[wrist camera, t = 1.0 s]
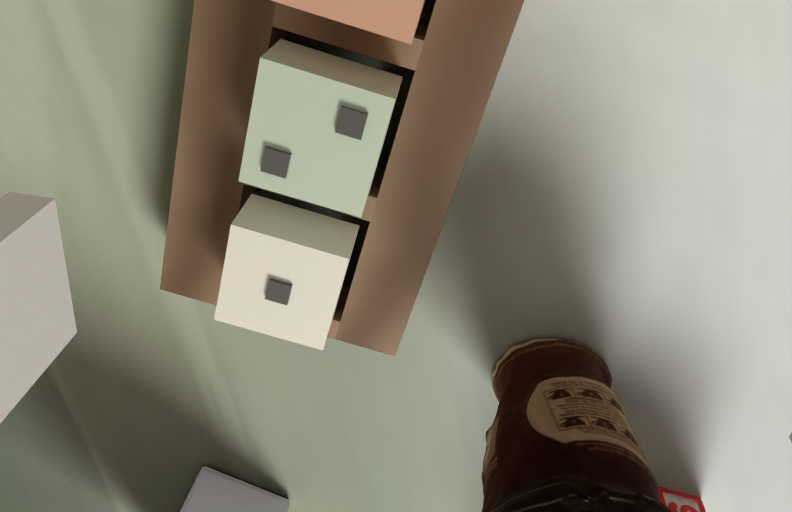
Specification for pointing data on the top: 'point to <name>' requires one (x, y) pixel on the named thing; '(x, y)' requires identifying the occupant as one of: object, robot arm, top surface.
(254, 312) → the tile one
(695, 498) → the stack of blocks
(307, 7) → the tile three
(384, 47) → the brown flat block
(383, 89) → the tile two
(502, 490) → the coffee cup
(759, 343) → the top surface
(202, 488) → the soap bottle
